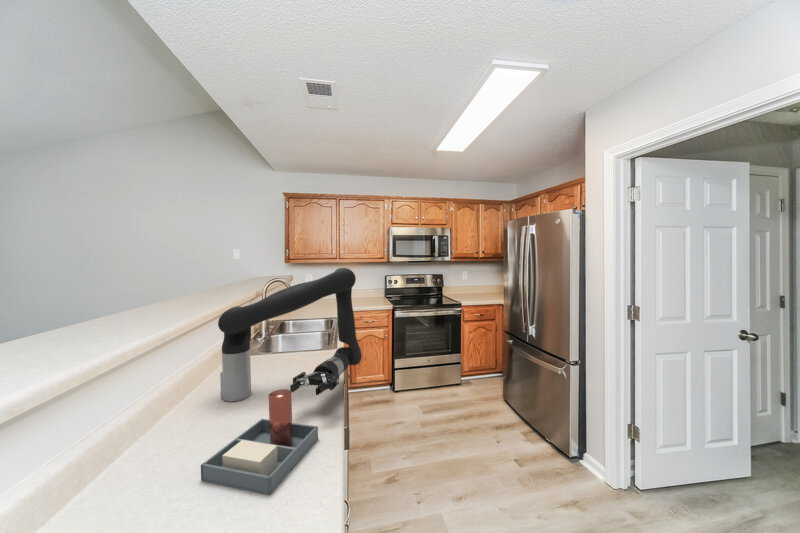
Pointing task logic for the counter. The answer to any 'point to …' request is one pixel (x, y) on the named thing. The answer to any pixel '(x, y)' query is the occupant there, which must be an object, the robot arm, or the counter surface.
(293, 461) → the tray
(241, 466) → the cream block
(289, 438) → the copper cylinder
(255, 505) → the counter surface
